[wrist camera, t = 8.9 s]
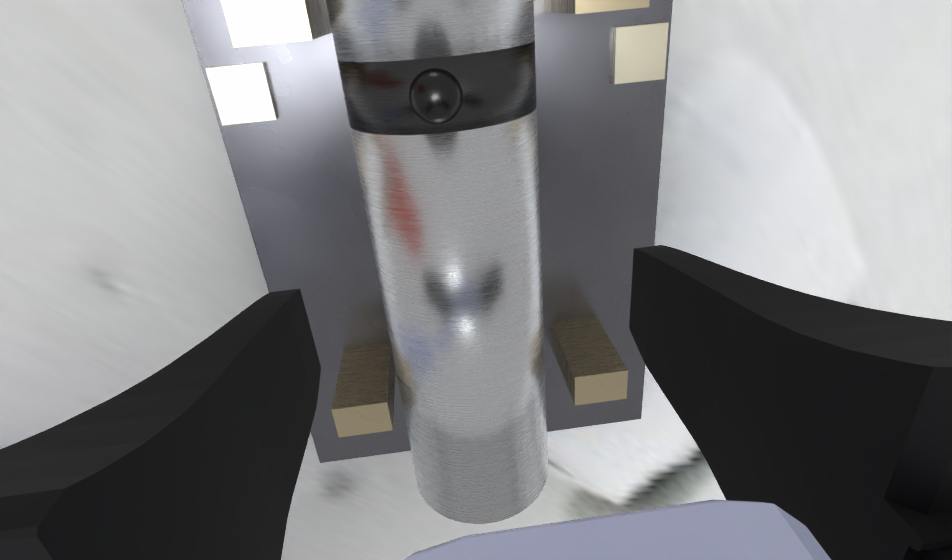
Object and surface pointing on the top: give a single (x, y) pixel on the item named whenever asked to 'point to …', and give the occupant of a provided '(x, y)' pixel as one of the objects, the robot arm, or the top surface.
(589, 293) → the grey plate with pegs
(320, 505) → the top surface
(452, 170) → the silver long rounded block
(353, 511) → the top surface
